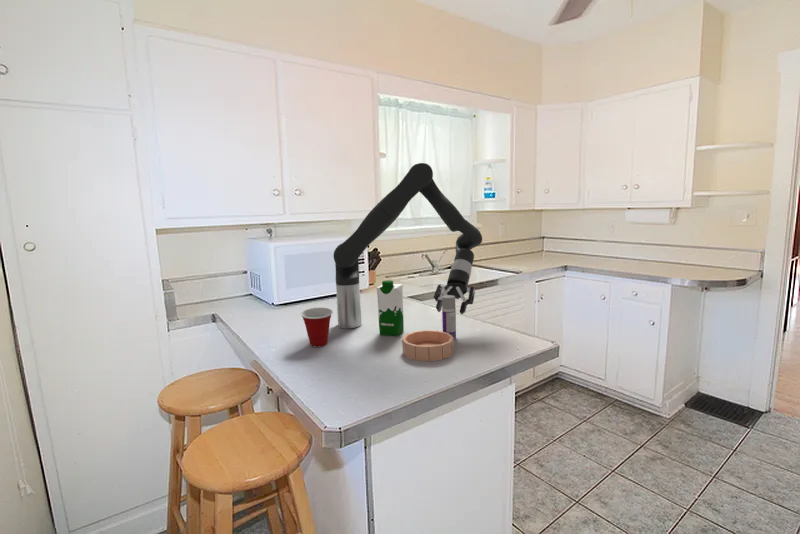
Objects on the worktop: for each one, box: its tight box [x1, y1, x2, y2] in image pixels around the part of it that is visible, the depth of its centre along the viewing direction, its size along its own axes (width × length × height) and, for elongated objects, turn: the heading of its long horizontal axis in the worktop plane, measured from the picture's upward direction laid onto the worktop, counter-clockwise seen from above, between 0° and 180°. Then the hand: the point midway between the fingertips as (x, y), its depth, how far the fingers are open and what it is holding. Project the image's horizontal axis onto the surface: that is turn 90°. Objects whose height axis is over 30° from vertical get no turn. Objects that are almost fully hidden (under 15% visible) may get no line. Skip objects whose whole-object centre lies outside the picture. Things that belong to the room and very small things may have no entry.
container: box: [441, 294, 457, 340], centre depth 141 cm, size 5×5×15 cm
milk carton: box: [376, 279, 405, 337], centre depth 149 cm, size 9×9×20 cm
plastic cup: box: [300, 307, 333, 348], centre depth 140 cm, size 11×11×12 cm
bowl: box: [401, 329, 455, 362], centre depth 130 cm, size 16×16×4 cm
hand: (449, 311), depth 141 cm, fingers open, 8 cm apart
